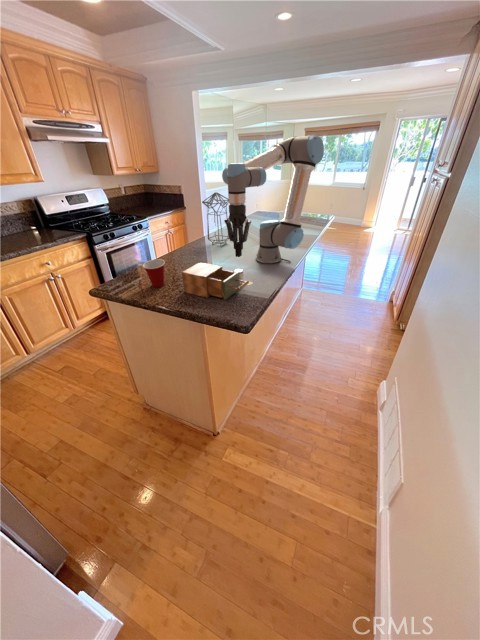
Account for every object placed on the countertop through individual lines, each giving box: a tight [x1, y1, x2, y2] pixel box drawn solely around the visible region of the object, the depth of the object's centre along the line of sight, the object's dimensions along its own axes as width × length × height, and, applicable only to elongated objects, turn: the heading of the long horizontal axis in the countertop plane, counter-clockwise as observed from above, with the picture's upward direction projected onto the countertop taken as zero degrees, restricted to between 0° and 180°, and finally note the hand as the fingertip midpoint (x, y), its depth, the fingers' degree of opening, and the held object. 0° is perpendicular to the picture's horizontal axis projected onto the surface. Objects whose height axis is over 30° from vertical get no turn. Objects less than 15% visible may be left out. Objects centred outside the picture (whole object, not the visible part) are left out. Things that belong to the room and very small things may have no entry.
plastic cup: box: [142, 258, 166, 288], centre depth 134 cm, size 11×11×12 cm
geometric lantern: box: [201, 191, 230, 247], centre depth 188 cm, size 16×16×35 cm
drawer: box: [206, 268, 250, 300], centre depth 124 cm, size 18×13×9 cm
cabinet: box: [181, 262, 223, 299], centre depth 129 cm, size 13×14×10 cm
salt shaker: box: [233, 268, 244, 286], centre depth 136 cm, size 4×4×7 cm
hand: (238, 256), depth 130 cm, fingers closed
